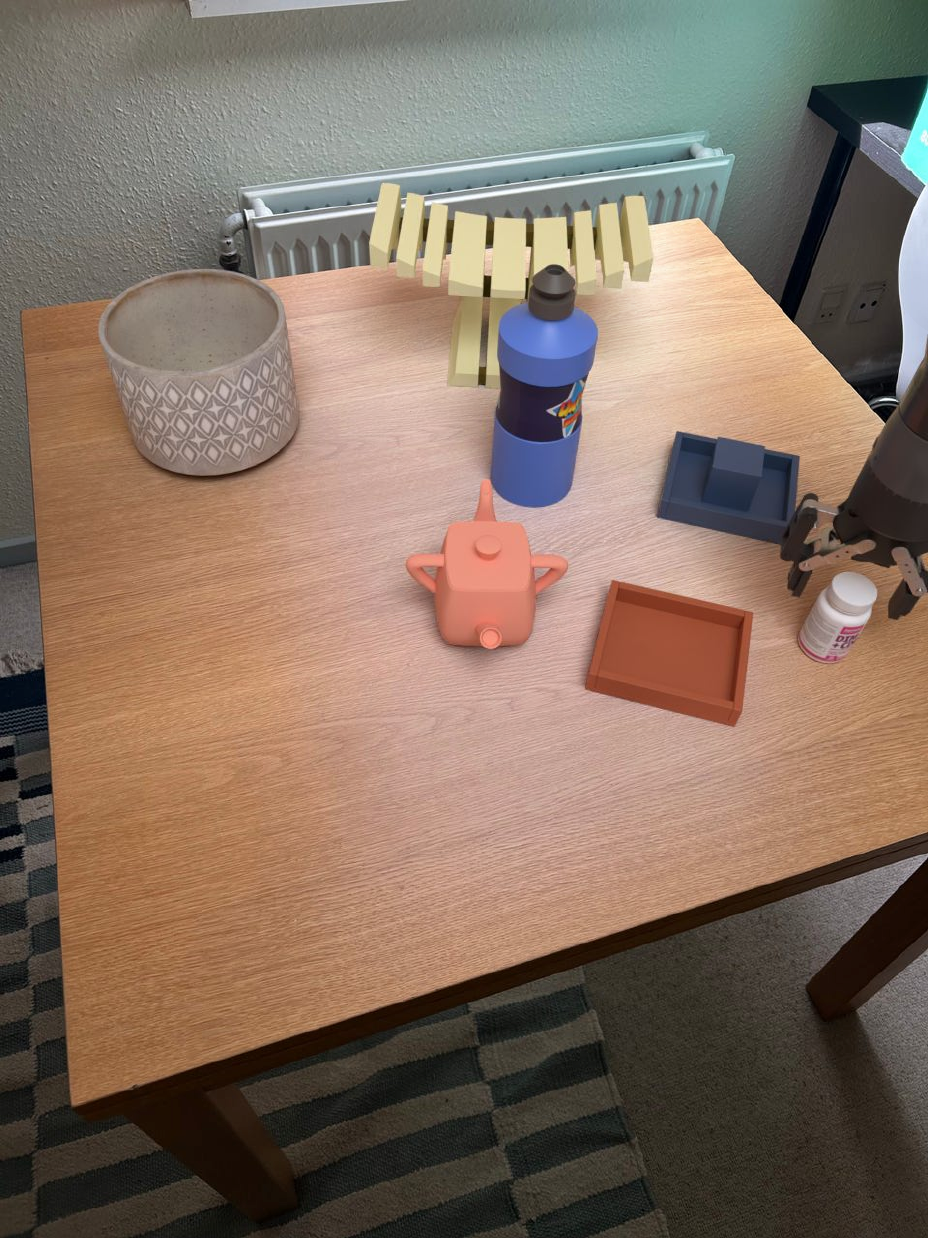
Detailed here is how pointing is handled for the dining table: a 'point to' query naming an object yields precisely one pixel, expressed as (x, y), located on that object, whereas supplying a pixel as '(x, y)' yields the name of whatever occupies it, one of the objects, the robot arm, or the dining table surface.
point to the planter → (202, 370)
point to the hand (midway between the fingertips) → (843, 601)
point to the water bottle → (541, 391)
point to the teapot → (486, 579)
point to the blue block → (733, 473)
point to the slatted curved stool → (504, 262)
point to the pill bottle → (838, 617)
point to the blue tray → (687, 507)
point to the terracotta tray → (672, 653)
